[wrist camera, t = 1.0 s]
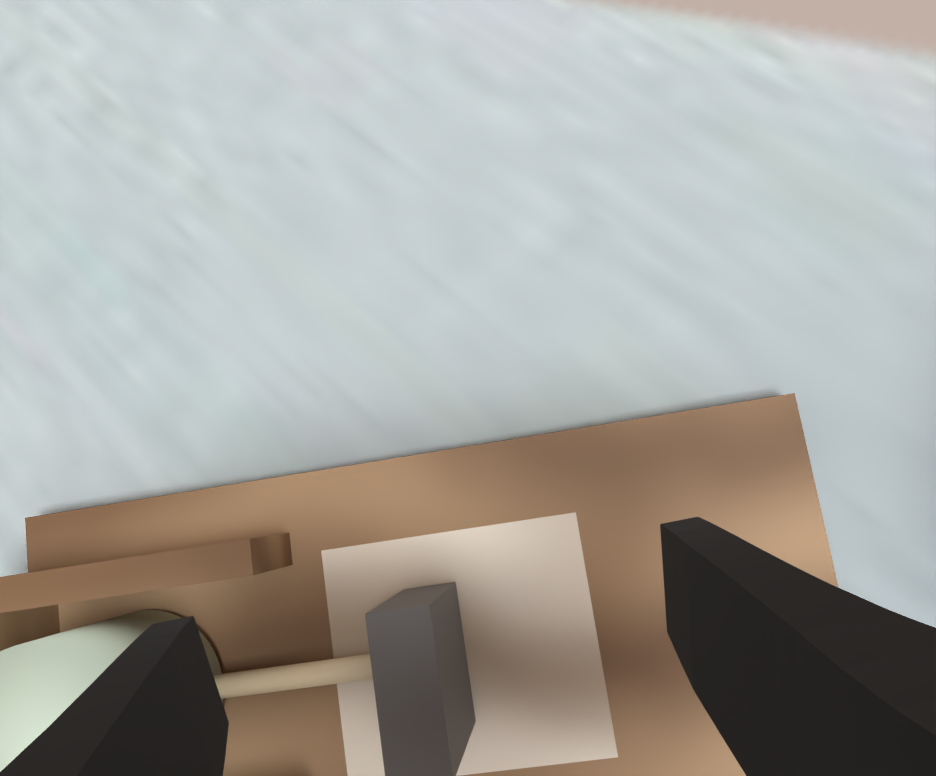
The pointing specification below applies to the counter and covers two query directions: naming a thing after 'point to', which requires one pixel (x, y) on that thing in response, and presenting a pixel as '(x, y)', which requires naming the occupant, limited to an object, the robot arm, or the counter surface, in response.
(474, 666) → the shelf lane
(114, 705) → the robot arm
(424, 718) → the grey-headed mallet
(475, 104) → the counter surface
